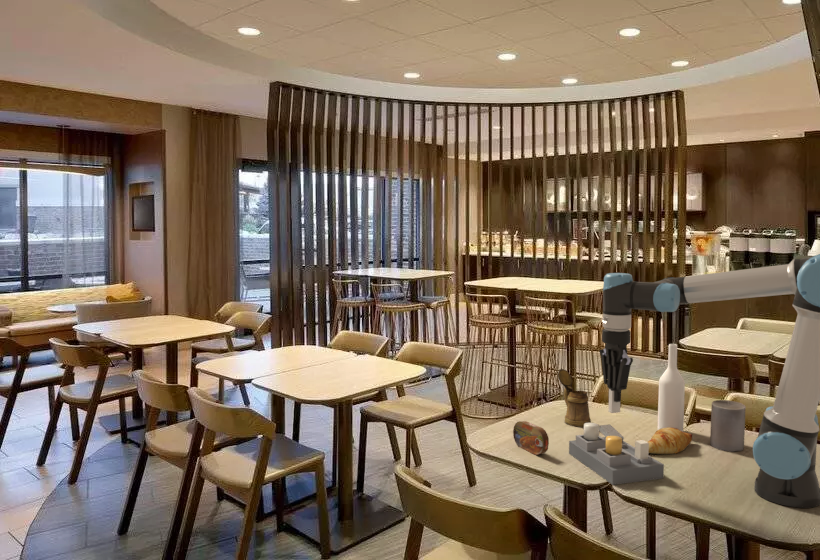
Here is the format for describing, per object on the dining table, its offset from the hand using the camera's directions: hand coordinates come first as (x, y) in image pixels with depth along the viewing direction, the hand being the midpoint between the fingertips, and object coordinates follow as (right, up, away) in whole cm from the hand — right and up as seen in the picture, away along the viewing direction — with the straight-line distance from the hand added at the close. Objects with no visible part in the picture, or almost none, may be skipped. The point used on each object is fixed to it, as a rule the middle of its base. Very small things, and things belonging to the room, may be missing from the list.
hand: (614, 411), depth 177 cm
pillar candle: (+43, -16, +23) cm, 52 cm away
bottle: (+31, -15, +37) cm, 51 cm away
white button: (-3, -10, +13) cm, 17 cm away
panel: (+3, -18, +8) cm, 20 cm away
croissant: (+24, -16, +22) cm, 36 cm away
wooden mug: (+1, -14, +49) cm, 51 cm away
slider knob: (+8, -14, +2) cm, 16 cm away
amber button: (0, -12, +1) cm, 12 cm away
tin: (-19, -17, +21) cm, 33 cm away
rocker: (+4, -10, +17) cm, 20 cm away
